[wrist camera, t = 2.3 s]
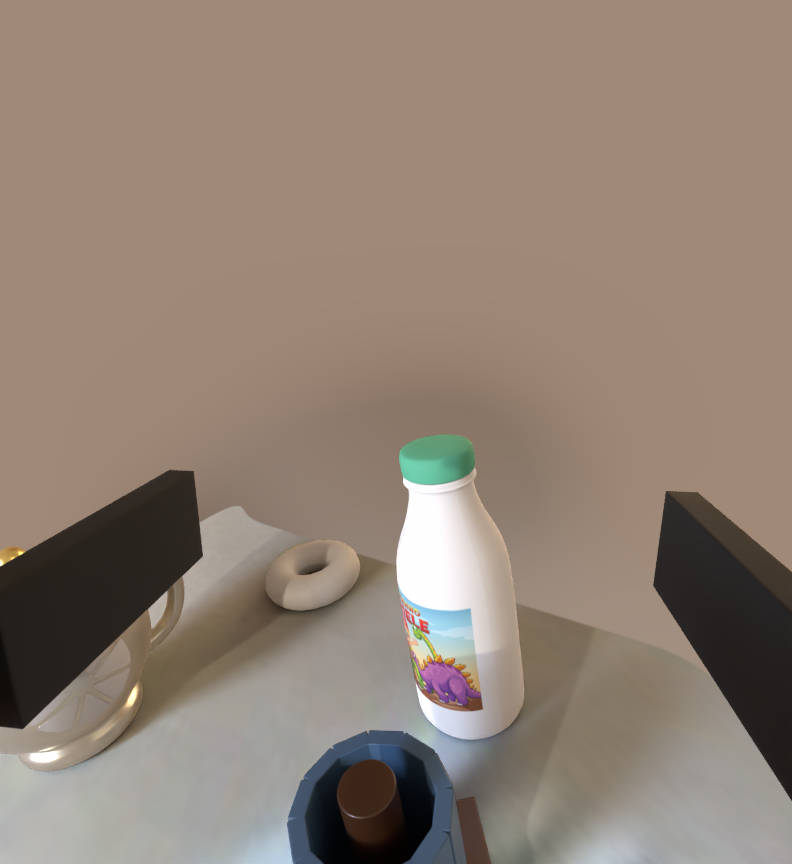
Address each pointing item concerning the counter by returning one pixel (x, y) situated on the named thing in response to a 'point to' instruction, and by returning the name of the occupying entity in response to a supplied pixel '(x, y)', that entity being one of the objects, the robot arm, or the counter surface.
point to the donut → (312, 575)
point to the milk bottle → (457, 594)
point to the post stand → (393, 817)
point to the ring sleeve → (418, 788)
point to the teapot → (92, 695)
